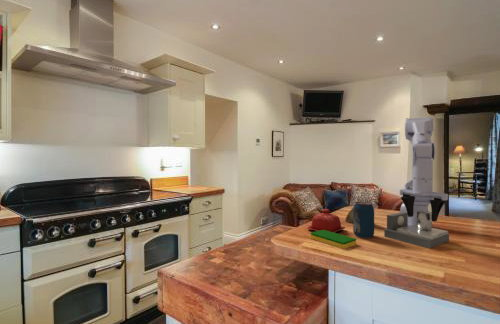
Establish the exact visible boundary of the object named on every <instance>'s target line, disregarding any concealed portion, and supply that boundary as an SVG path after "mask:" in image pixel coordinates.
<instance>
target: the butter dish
mask: <svg viewBox="0 0 500 324" xmlns="http://www.w3.org/2000/svg"><path fill="white" fill-rule="evenodd" d="M321 211H322V212H321V213H318V214H315V215H313V217H312V219H311V224H310V225H309V226H308V227H306V229H307V230H310V231H313V230H314V231H313V232H316V231H320V230H326V231H330V232H334V233H337V232H340V231H343V230H345V229H346V227H345V226H342V223H341V220H340V217H339V216H338V215H336V214H333V213H331V212H330V210H329V208H324V209H322V210H321ZM329 212H330V213H329Z"/></svg>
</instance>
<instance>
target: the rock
mask: <svg viewBox="0 0 500 324" xmlns="http://www.w3.org/2000/svg"><path fill="white" fill-rule="evenodd" d="M359 202H364V201H362V200H359ZM353 215H354V206H352V207H351V209H350V210H349V212H348V213H347V215H346V217H345V222H347V223H351V224H353ZM374 225H375V222H374Z"/></svg>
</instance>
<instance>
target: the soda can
mask: <svg viewBox="0 0 500 324" xmlns="http://www.w3.org/2000/svg"><path fill="white" fill-rule="evenodd" d="M354 203H355V204H354V206H353V207H354V215H353V223H352V224H353V228H352V229H353V230H352V232H353V234H354V236H356V238H360V239H372V238H373V237H374V235H375V224H374V223H375V207H374V205H373V202H370V201H363V202H360V201H356V202H354Z"/></svg>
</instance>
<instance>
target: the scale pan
mask: <svg viewBox="0 0 500 324" xmlns="http://www.w3.org/2000/svg"><path fill="white" fill-rule="evenodd" d="M397 232H401V233H405V234H410V235H414V236H418V237H422V238H426V239H431V240H432V239H435V238H438V237H441V236H444V235H447V234H449V231H448V230H445V229H440V228H439V229H438V228H434V227H432V231H421V230H418V229H417V225H415V224H413V225H409V226H405V227H403V226H402V227H401V228H398V229H397Z"/></svg>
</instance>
